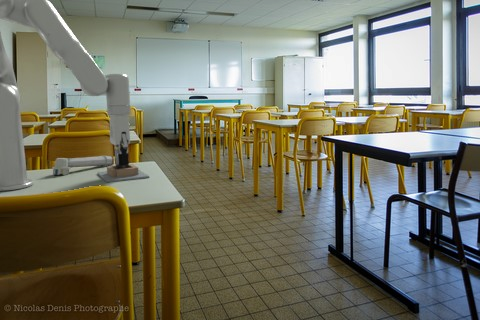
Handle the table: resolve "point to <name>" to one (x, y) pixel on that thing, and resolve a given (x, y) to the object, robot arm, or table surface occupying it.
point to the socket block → (122, 174)
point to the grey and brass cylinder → (118, 159)
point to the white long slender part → (80, 163)
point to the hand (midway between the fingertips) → (122, 163)
